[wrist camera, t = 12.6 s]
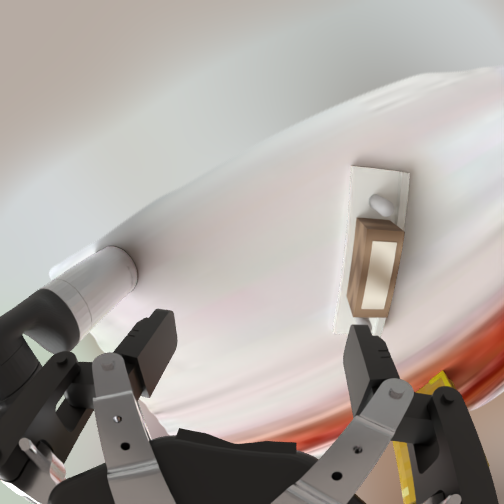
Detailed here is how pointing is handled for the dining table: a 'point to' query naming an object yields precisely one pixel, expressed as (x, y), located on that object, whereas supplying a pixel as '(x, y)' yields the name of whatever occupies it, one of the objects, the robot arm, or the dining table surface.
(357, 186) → the board
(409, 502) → the book
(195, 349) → the dining table surface
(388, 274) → the frame
